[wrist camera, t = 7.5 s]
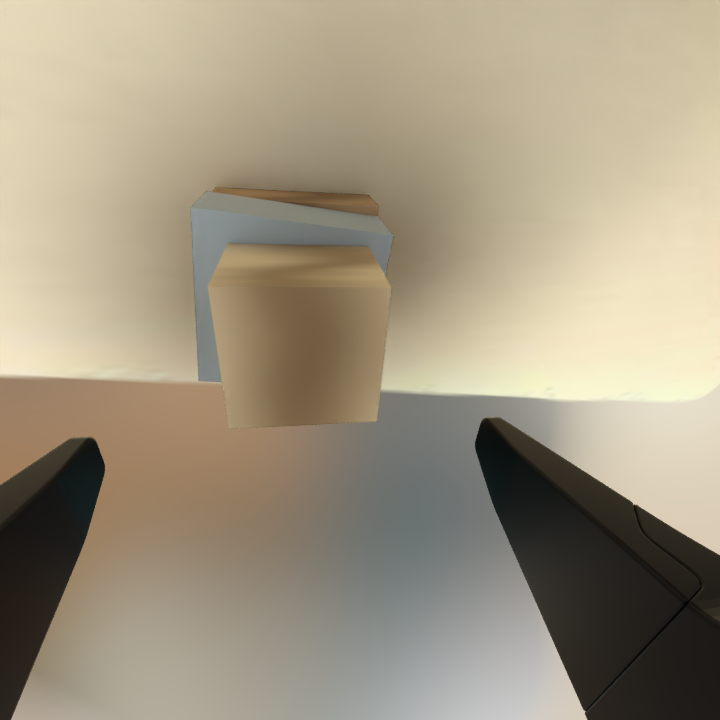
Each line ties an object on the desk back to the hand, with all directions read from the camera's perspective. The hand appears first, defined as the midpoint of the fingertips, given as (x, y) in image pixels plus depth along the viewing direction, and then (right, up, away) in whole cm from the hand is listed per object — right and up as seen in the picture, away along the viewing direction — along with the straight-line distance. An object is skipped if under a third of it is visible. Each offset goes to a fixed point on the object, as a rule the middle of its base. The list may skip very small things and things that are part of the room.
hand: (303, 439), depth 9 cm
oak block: (-1, +4, +6) cm, 7 cm away
